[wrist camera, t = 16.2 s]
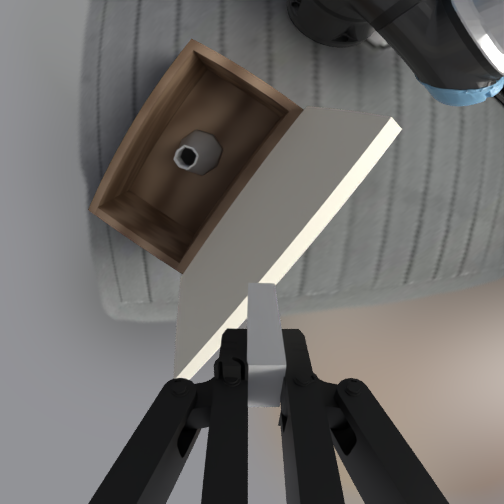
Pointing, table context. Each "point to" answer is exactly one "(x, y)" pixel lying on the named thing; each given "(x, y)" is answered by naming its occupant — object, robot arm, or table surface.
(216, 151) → the flask
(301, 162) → the lid
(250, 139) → the bin
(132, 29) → the table surface
